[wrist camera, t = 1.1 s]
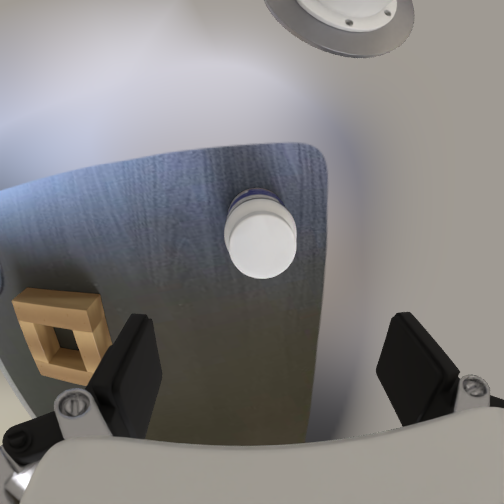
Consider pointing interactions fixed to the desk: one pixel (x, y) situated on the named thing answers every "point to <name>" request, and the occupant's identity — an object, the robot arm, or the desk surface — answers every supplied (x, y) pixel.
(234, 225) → the pill bottle
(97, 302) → the holder
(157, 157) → the desk surface
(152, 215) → the desk surface
